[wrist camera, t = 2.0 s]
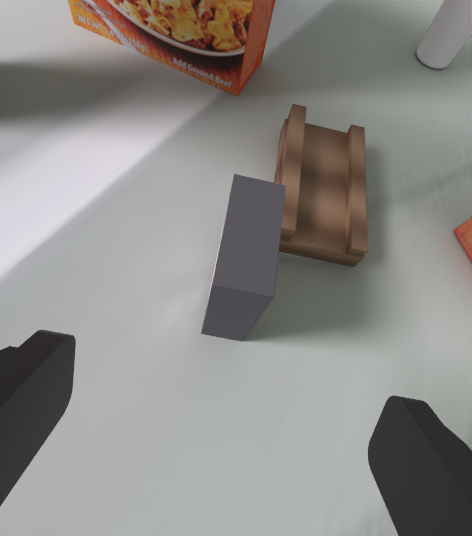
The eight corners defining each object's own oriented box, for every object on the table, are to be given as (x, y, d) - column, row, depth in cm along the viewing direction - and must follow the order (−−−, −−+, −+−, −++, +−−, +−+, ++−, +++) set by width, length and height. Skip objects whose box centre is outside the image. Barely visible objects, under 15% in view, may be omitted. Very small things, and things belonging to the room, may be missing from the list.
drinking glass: (438, 80, 49) (535, -50, 36) (401, 54, 51) (481, -80, 37) (459, 64, 52) (556, -63, 39) (423, 40, 53) (505, -90, 40)
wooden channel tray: (353, 266, 33) (374, 247, 30) (265, 248, 33) (276, 226, 29) (353, 149, 41) (370, 122, 37) (280, 132, 40) (290, 103, 36)
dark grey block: (241, 341, 29) (273, 296, 19) (201, 333, 28) (212, 284, 19) (253, 259, 32) (285, 185, 22) (217, 251, 32) (234, 174, 22)
